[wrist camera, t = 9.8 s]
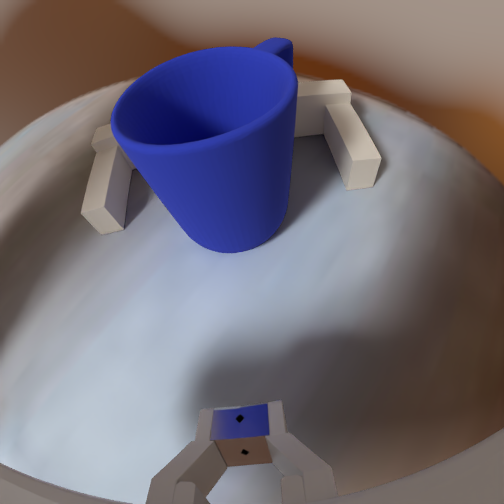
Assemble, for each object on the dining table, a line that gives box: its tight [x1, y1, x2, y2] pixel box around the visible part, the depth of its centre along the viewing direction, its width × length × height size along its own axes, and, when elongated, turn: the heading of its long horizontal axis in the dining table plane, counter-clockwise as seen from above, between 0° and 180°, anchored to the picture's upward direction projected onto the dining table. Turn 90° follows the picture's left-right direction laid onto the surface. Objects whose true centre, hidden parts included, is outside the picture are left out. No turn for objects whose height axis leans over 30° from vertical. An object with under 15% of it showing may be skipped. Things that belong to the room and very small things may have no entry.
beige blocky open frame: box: [81, 80, 381, 235], centre depth 19 cm, size 20×8×7 cm, turn 97°
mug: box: [111, 38, 298, 253], centre depth 16 cm, size 8×12×10 cm
